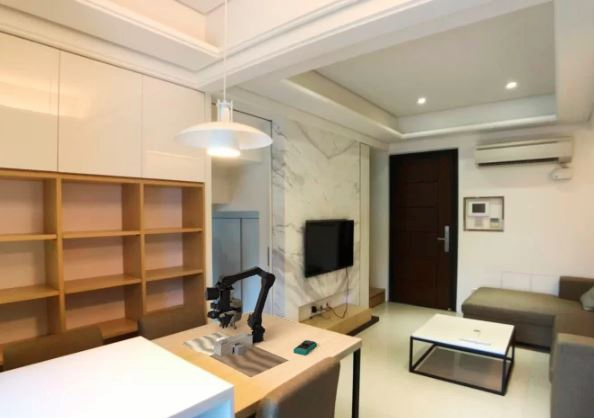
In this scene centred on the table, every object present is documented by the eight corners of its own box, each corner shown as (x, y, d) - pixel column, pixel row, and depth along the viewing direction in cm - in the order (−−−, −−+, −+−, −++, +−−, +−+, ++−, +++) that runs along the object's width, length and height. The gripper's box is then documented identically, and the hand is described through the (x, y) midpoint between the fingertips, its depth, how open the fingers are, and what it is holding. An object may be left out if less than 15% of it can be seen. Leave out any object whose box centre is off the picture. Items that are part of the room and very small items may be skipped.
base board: (219, 333, 208) (219, 331, 208) (288, 362, 170) (288, 360, 170) (183, 344, 191) (183, 342, 191) (250, 379, 152) (250, 377, 152)
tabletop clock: (216, 327, 218) (216, 287, 218) (224, 323, 227) (224, 284, 227) (235, 330, 213) (236, 289, 213) (243, 326, 221) (244, 286, 221)
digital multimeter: (317, 346, 191) (317, 341, 191) (305, 356, 178) (306, 350, 178) (305, 344, 194) (305, 338, 194) (293, 353, 181) (293, 348, 181)
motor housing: (245, 344, 189) (245, 332, 189) (252, 347, 185) (252, 334, 185) (213, 355, 174) (213, 342, 174) (220, 358, 170) (220, 345, 170)
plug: (221, 343, 190) (221, 336, 190) (244, 353, 177) (244, 345, 177) (215, 345, 187) (215, 338, 187) (237, 356, 174) (237, 348, 174)
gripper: (230, 293, 197) (229, 320, 197) (201, 299, 184) (200, 328, 183) (242, 296, 190) (242, 325, 190) (213, 303, 176) (213, 334, 176)
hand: (224, 328), depth 185 cm, fingers closed
